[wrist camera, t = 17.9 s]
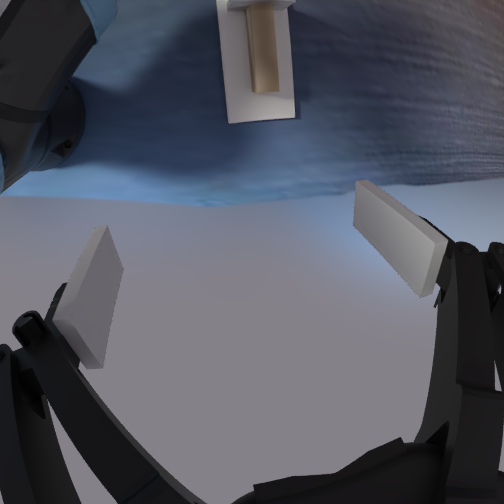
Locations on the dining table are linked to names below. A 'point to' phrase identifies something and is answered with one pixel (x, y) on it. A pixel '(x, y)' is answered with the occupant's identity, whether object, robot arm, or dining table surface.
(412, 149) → the dining table surface
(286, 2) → the scraper
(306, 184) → the dining table surface
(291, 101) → the cutting board
